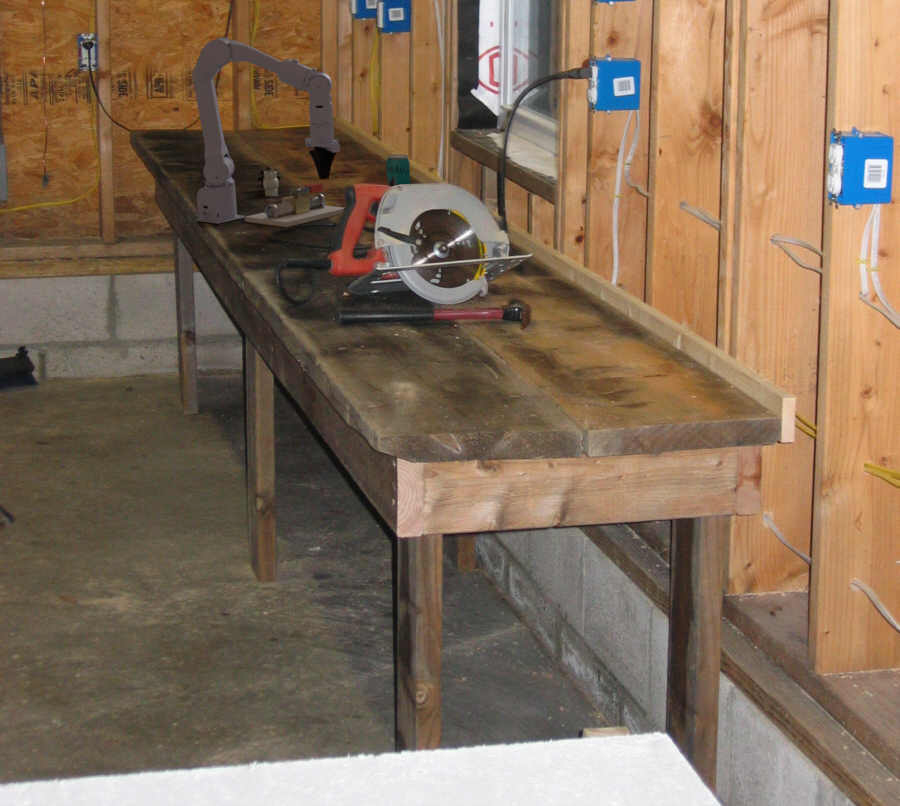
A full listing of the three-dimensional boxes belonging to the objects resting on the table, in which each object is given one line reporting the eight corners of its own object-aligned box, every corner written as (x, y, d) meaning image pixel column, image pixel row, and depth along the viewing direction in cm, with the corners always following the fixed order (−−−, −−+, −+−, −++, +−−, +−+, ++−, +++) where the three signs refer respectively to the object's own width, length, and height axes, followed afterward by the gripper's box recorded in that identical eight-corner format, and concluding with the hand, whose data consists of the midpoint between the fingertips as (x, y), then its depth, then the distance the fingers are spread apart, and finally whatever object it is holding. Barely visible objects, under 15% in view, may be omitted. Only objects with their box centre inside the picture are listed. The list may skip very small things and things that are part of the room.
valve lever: (295, 196, 352) (295, 189, 352) (288, 195, 354) (287, 188, 353) (323, 190, 360) (323, 183, 360) (315, 189, 362) (315, 182, 361)
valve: (284, 196, 386) (281, 189, 397) (282, 172, 384) (279, 165, 395) (260, 197, 385) (257, 190, 396) (258, 173, 383) (256, 166, 394)
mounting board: (286, 227, 343) (286, 222, 343) (245, 221, 352) (245, 216, 351) (346, 212, 360) (346, 208, 360) (306, 207, 368) (305, 203, 368)
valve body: (278, 220, 347) (277, 202, 346) (264, 218, 350) (263, 200, 349) (327, 209, 361) (326, 191, 359) (313, 207, 364) (312, 189, 362)
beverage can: (384, 216, 354) (381, 155, 350) (404, 213, 357) (402, 153, 352) (395, 219, 350) (392, 158, 345) (415, 216, 352) (413, 156, 348)
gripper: (350, 124, 343) (352, 180, 348) (322, 119, 355) (324, 173, 359) (324, 127, 340) (326, 183, 344) (296, 121, 351) (299, 176, 356)
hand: (324, 178), depth 351 cm, fingers closed
